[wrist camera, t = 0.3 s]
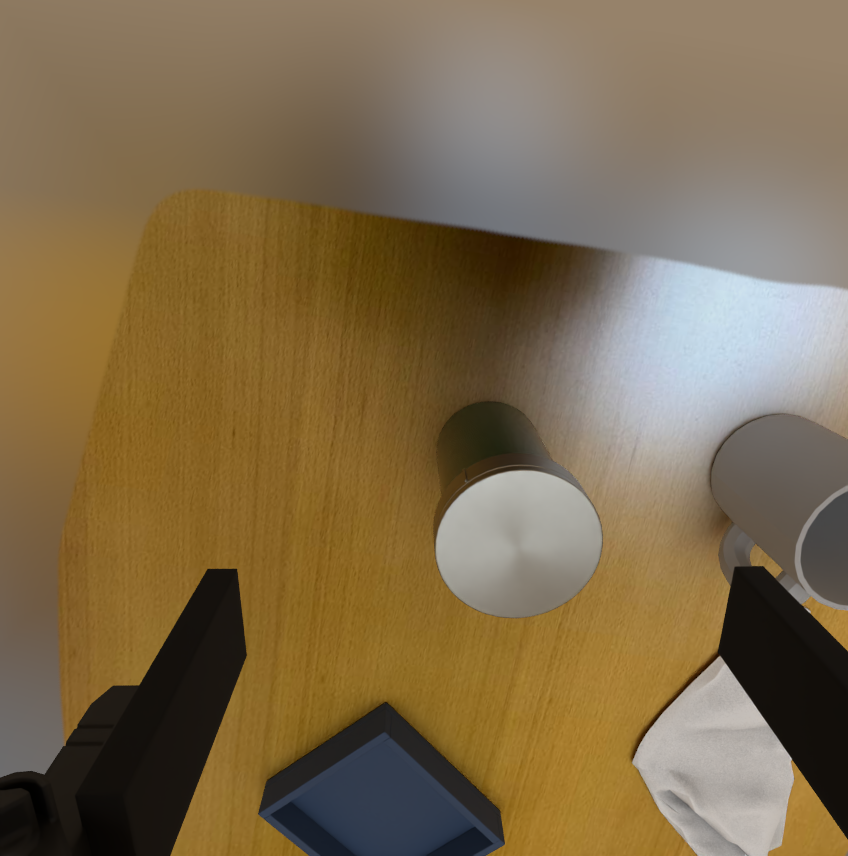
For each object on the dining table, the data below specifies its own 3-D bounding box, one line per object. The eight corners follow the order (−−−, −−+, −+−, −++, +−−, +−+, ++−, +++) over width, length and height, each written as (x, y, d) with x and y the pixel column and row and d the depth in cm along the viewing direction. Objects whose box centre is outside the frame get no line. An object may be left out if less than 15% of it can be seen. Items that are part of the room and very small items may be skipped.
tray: (266, 780, 44) (257, 814, 42) (386, 701, 42) (384, 732, 39) (384, 879, 48) (382, 915, 45) (500, 810, 45) (505, 844, 43)
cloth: (685, 592, 39) (701, 614, 37) (886, 616, 40) (913, 639, 38) (590, 875, 48) (599, 906, 46) (758, 889, 49) (774, 920, 47)
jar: (415, 443, 36) (417, 531, 26) (498, 380, 35) (533, 447, 25) (477, 514, 37) (501, 623, 27) (558, 457, 36) (614, 549, 26)
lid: (399, 514, 27) (398, 535, 25) (529, 419, 26) (538, 434, 24) (495, 619, 29) (501, 645, 27) (620, 535, 27) (635, 558, 26)
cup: (853, 448, 36) (987, 519, 28) (743, 574, 39) (834, 674, 31) (761, 388, 35) (872, 444, 27) (653, 524, 38) (723, 613, 29)
